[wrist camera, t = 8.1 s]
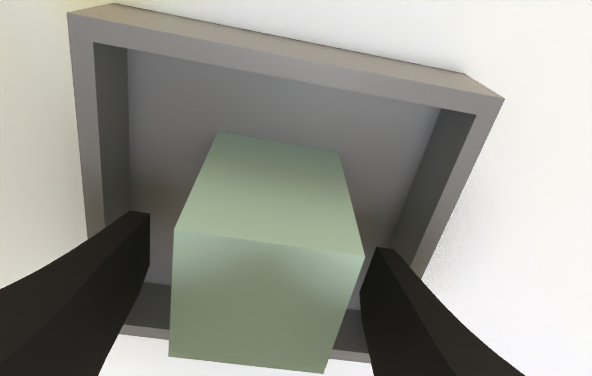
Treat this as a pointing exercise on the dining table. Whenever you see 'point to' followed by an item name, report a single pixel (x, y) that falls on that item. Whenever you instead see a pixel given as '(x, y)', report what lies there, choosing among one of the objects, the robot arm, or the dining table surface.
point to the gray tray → (265, 134)
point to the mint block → (264, 257)
